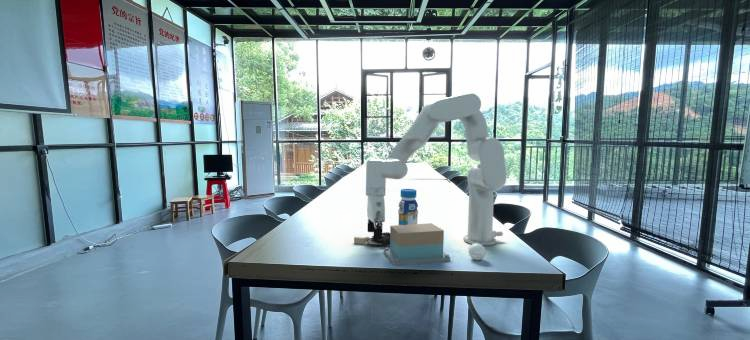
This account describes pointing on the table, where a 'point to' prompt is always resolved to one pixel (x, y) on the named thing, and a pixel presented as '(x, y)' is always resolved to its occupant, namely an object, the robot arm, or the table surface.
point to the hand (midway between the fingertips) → (374, 235)
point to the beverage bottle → (408, 207)
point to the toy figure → (374, 240)
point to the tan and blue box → (416, 244)
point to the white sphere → (477, 251)
